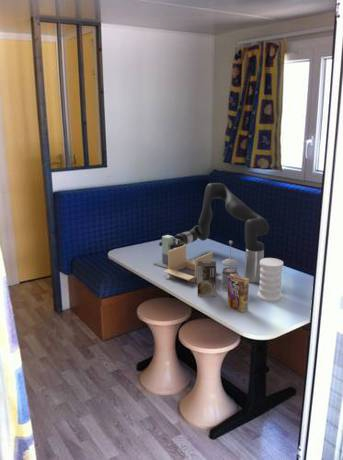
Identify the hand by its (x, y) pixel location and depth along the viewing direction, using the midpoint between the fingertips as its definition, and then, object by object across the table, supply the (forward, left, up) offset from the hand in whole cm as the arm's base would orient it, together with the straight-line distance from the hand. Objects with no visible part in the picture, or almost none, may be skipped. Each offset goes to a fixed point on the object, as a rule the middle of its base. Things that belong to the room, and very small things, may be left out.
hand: (165, 245), depth 253 cm
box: (0, -2, -11) cm, 11 cm away
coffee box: (-42, +16, -12) cm, 46 cm away
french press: (-47, +3, -12) cm, 49 cm away
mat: (0, -2, -11) cm, 12 cm away
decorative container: (-67, -1, -12) cm, 68 cm away
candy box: (-62, +19, -12) cm, 66 cm away
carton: (-20, +2, -11) cm, 23 cm away
